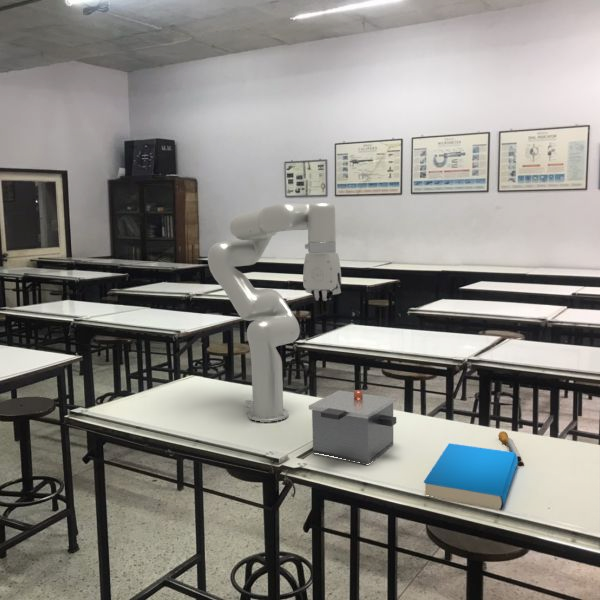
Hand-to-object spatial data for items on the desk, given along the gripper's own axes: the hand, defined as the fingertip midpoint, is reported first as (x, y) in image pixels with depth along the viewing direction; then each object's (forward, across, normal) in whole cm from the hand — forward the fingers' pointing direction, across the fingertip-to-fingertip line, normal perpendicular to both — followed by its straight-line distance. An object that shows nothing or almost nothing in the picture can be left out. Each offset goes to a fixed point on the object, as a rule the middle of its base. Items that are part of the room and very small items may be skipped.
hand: (323, 314), depth 170 cm
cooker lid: (+23, +12, -9) cm, 27 cm away
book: (+36, +45, -10) cm, 59 cm away
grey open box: (+35, +14, -6) cm, 38 cm away
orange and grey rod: (+36, +49, +12) cm, 62 cm away
